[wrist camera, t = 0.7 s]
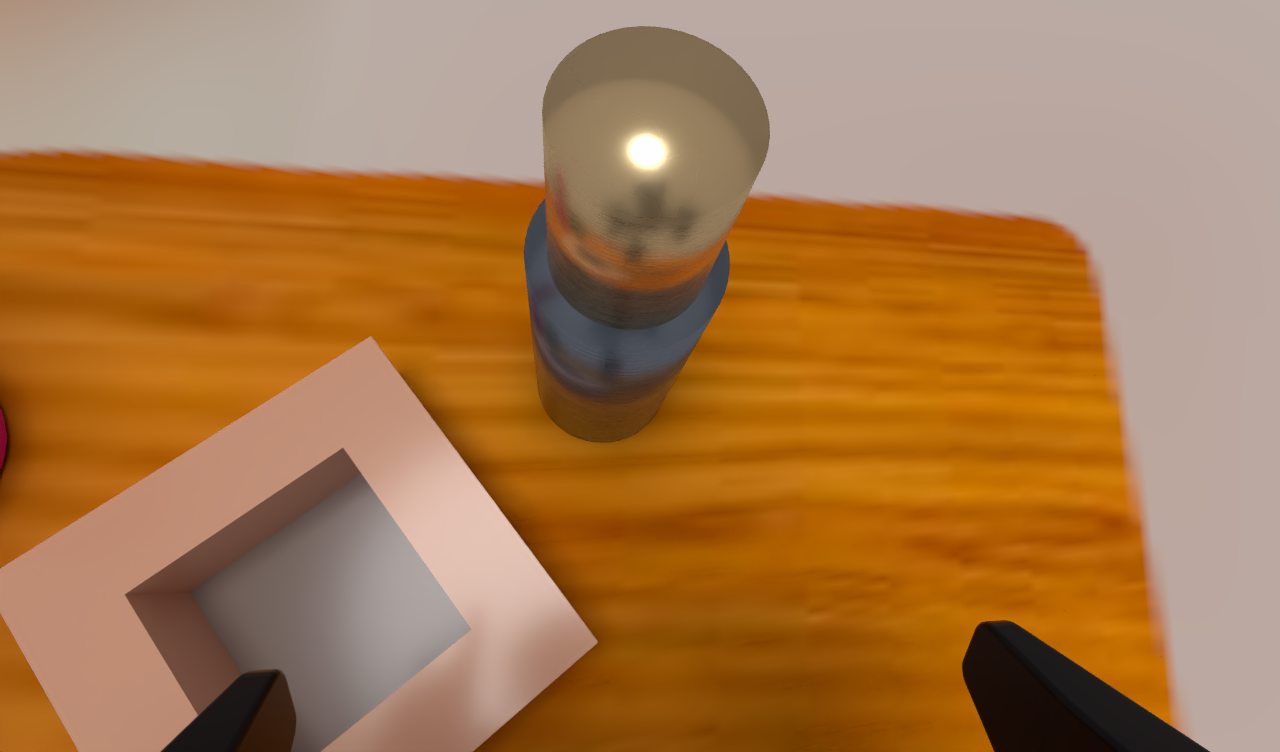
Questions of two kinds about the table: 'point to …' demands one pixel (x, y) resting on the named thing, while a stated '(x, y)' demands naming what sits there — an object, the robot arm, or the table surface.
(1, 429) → the pepper mill
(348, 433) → the socket block
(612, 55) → the tube
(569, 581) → the table surface
